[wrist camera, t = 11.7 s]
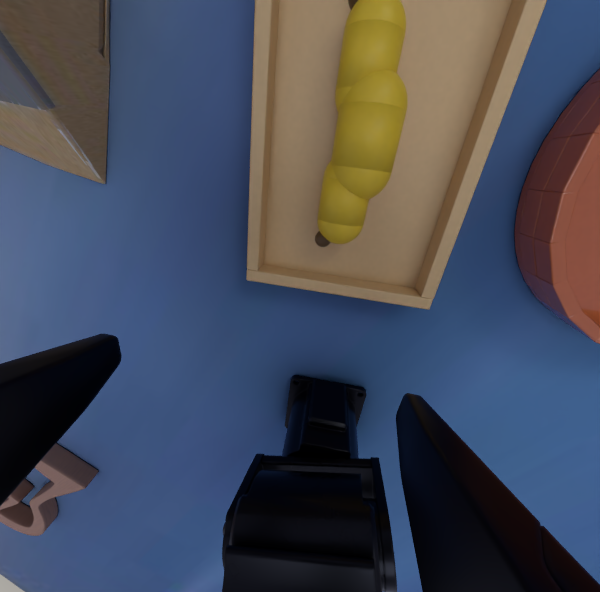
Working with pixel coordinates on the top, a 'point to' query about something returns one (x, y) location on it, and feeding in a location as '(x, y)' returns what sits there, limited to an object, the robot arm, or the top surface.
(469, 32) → the tray
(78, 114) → the sandwich container
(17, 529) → the wood carving
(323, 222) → the banana
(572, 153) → the bowl
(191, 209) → the top surface
